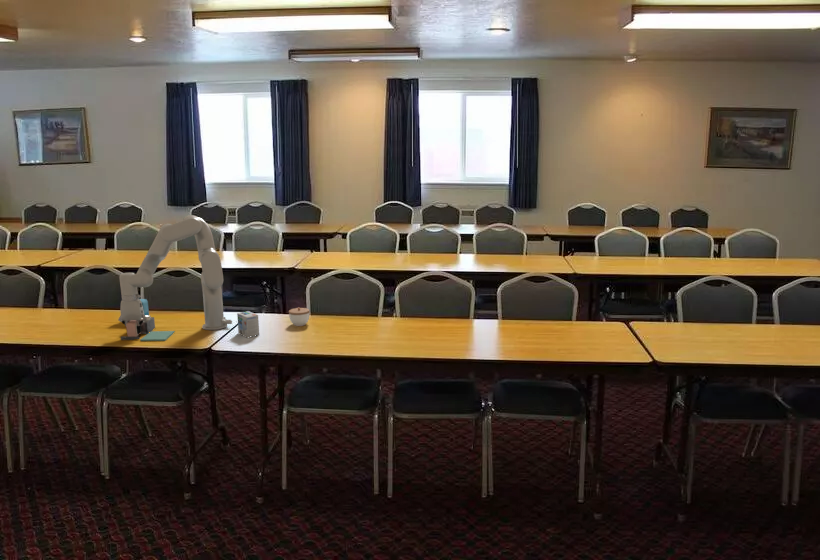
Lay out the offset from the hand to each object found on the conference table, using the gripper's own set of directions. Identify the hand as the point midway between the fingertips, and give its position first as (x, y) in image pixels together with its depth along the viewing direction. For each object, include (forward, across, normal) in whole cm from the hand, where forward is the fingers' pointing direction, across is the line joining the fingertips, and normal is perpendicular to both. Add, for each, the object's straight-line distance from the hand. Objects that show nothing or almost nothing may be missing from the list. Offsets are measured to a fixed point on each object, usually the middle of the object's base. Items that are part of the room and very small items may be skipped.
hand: (134, 332), depth 329 cm
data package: (+2, +10, -30) cm, 32 cm away
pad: (+2, -12, 0) cm, 12 cm away
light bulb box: (+3, -57, -2) cm, 57 cm away
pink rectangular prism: (+1, 0, 0) cm, 1 cm away
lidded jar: (+4, -80, -19) cm, 82 cm away
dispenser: (+2, 0, -5) cm, 5 cm away
